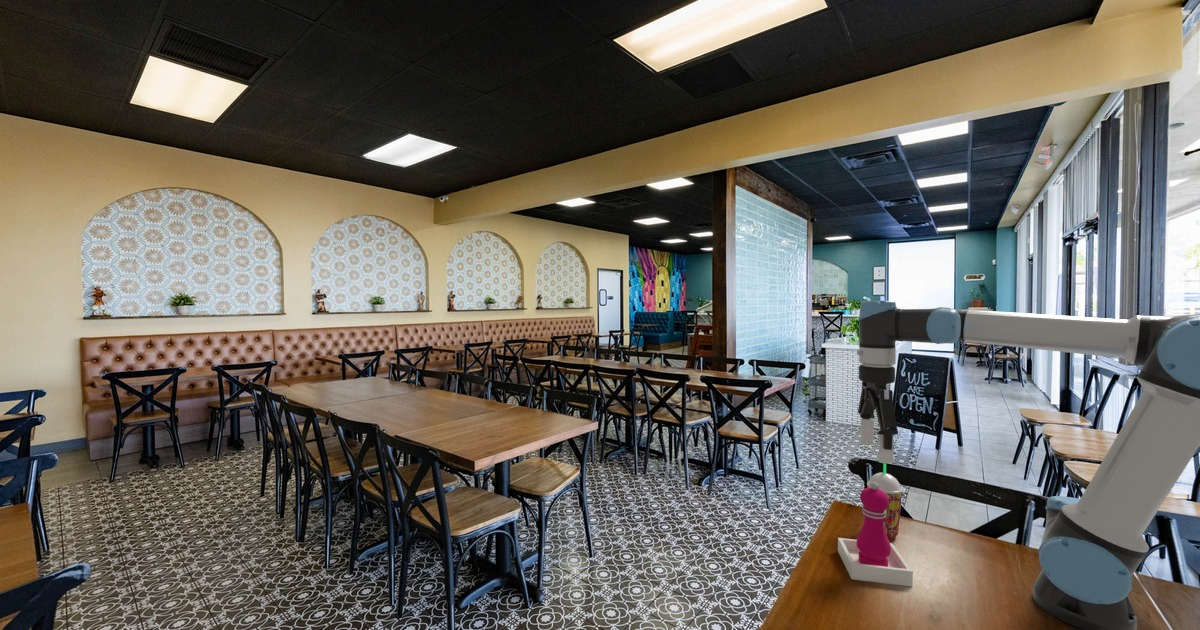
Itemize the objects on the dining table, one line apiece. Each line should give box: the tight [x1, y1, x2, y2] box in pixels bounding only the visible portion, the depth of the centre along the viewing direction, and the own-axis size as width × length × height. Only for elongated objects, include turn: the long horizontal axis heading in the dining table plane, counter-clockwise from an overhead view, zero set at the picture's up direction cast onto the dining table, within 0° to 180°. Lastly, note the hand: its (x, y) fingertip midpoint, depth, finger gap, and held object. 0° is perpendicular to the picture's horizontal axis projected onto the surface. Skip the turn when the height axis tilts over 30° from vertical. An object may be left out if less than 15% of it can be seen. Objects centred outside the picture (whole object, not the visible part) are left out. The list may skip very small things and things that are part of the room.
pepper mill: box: [856, 482, 891, 567], centre depth 115 cm, size 7×7×20 cm
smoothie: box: [866, 463, 904, 541], centre depth 130 cm, size 8×8×20 cm
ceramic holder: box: [837, 537, 914, 588], centre depth 115 cm, size 13×13×4 cm
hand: (875, 453), depth 114 cm, fingers open, 13 cm apart
